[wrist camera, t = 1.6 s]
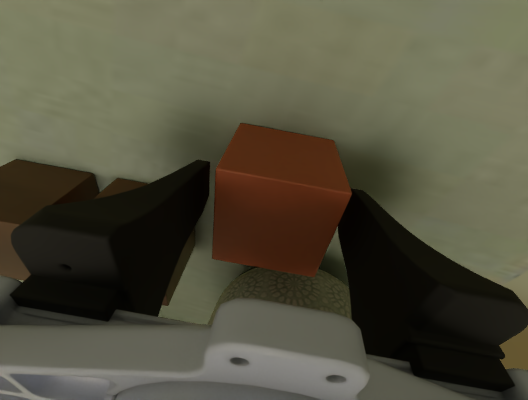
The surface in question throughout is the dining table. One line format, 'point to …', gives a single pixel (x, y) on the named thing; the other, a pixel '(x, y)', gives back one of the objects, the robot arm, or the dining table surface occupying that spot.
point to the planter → (290, 290)
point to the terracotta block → (278, 200)
